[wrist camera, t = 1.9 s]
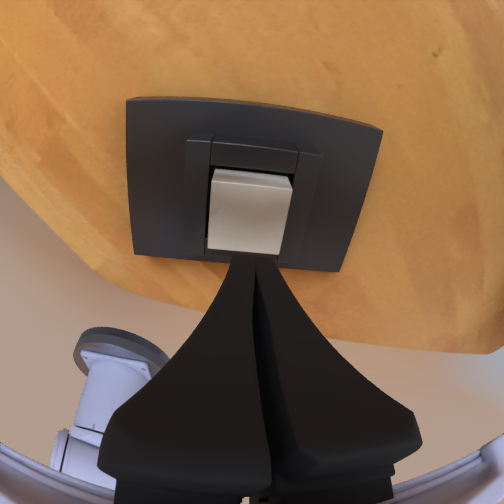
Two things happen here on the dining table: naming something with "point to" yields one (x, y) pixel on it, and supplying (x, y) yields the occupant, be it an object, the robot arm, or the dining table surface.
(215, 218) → the ivory key
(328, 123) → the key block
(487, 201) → the dining table surface
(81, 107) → the dining table surface
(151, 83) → the dining table surface
